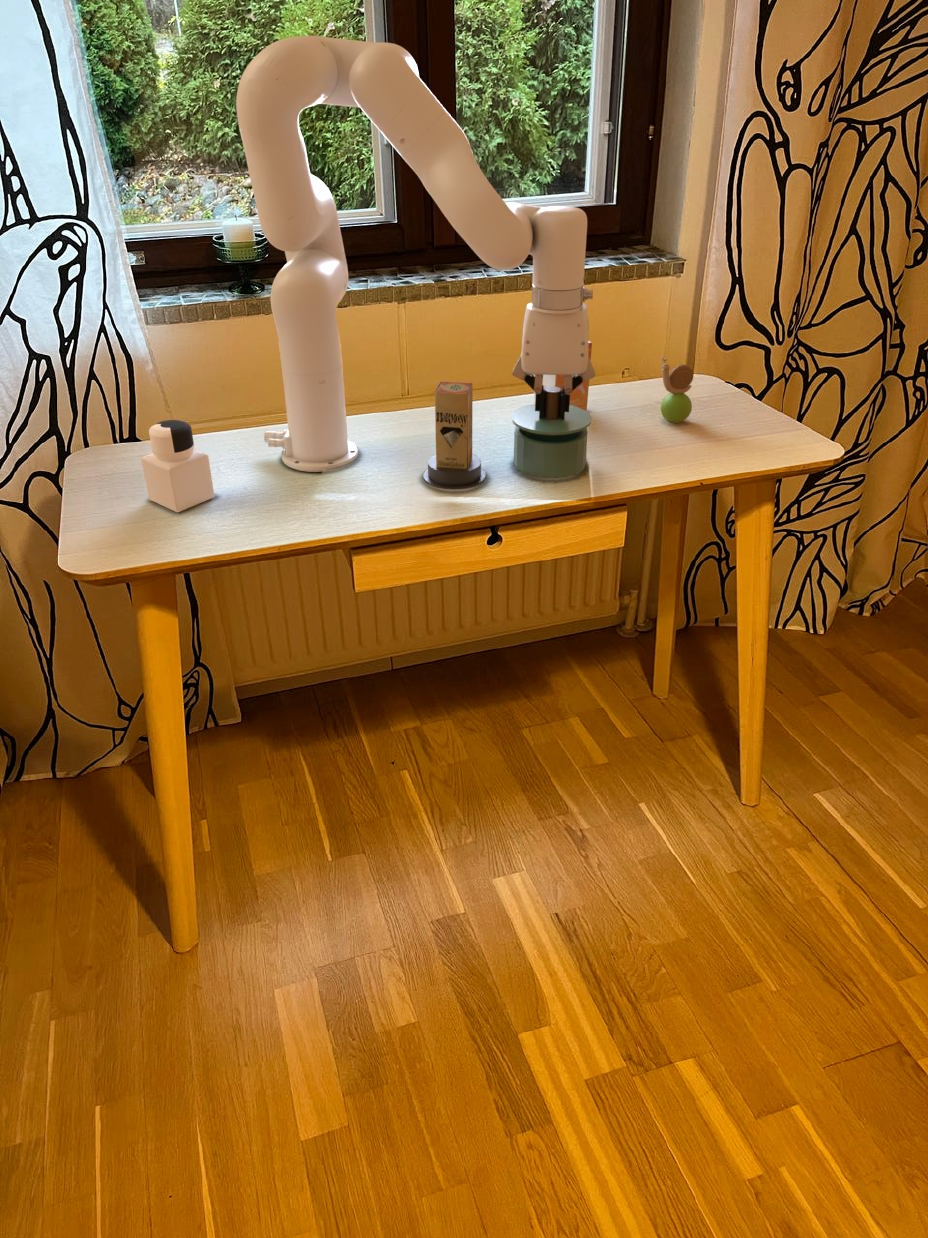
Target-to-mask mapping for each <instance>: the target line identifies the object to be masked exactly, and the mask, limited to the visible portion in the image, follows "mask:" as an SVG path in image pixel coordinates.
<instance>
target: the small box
mask: <svg viewBox="0 0 928 1238" xmlns="http://www.w3.org/2000/svg"><path fill="white" fill-rule="evenodd" d="M592 347H593V342H592V341H590V340H589V344H588V356H589V358H590V361H591V362H592ZM574 376H575V375H572V377H574ZM589 384H590V379H589V380H587V381H584V382H582V383H581V384H580V385H579V386H578V387H577V388H576V389H574V390H573V391H572V393H571V394H570V404H569V405H572V406H575V407H578V408H581V409H583V410H585V411H587V412H588V401H589V387H590V385H589ZM542 385H543V386H544V389H545V388H548V387H558V388H560V389H561V390H562V386H564V375H543V383H542ZM535 399H536V393H535V392H534V391H533V404H535Z"/></svg>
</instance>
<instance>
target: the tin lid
mask: <svg viewBox="0 0 928 1238" xmlns="http://www.w3.org/2000/svg"><path fill="white" fill-rule="evenodd" d="M560 402H561V389H560V388H558V387H548V388H545V400H544V418H542V419H539V411H535V404H528V405H524V406H521V407H519V408H517V409H516V410H514V412H513V413H511V422H512V423H513V425H514V426H517V427H518V428H520V429H522V430H525V431H528V432H531V433H536V434H543V435H565V434H572V433H576V432H580V431H582V430H584V429H586V428H587V429H589V427H590V426H591V425H592V420H593V418H592V415H591V414H590V413H589V412H588V410H587V411H585V410H583V409H581V408H578V407H575V406H572V405H569V412H565V417H564V419H561V418H560Z"/></svg>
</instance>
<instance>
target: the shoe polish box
mask: <svg viewBox="0 0 928 1238" xmlns="http://www.w3.org/2000/svg"><path fill="white" fill-rule="evenodd" d="M434 408H435V409H434V411H435V412H434V414H435V416H434V417H435V455H436V467H441V468H458V469H468V467H469V464H470V462H471V459H472V454H473V382H458V381H457V382H456V381H440V382H439V384H438V385H437V388H436V389H435V392H434Z"/></svg>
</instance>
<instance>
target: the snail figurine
mask: <svg viewBox="0 0 928 1238" xmlns="http://www.w3.org/2000/svg"><path fill="white" fill-rule="evenodd" d="M661 360H662V361H663V364H662V365H661V371H662V382H663V386H664V388H665V390H666V391H667V392H668V394H666V395H665V396H664V397H663V398H662V400H661V403H660V413H661V415H662V417H663V418H664V419H665V420H666V421H667V422H669V423H674V424H677V423H682V422H684V421H685V420H687V418H689V417H690V415H691V412H692V409H693V404H692V401H691V398H690V397H689V396H688V395H687V394H686V393H687V392H688V391H690V389H691V388H692V385H691V384H692V382H693V380H694V370H693V368H692V367H691V366H689V365H687V364H679V365H676V366H675V367H674V368H673V369H672V370H671V369H670V368H671V367H670V365H669V364H668V363H666V362H667V361H668V358H666V357H664V356H662V358H661ZM670 370H671V372H670Z"/></svg>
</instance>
